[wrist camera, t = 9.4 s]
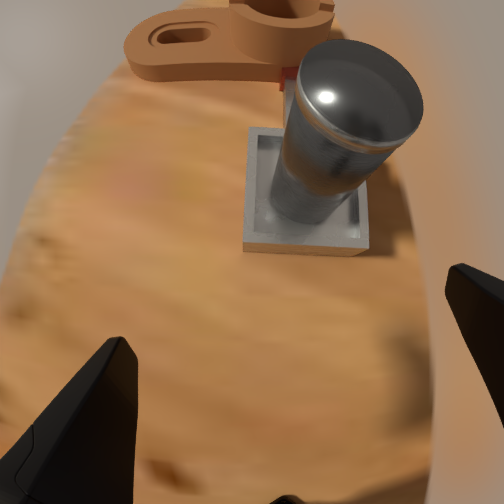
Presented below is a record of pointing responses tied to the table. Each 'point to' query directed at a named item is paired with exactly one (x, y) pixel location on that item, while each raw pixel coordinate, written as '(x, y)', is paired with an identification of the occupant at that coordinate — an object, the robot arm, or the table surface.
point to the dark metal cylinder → (341, 126)
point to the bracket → (228, 40)
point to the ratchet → (279, 226)
